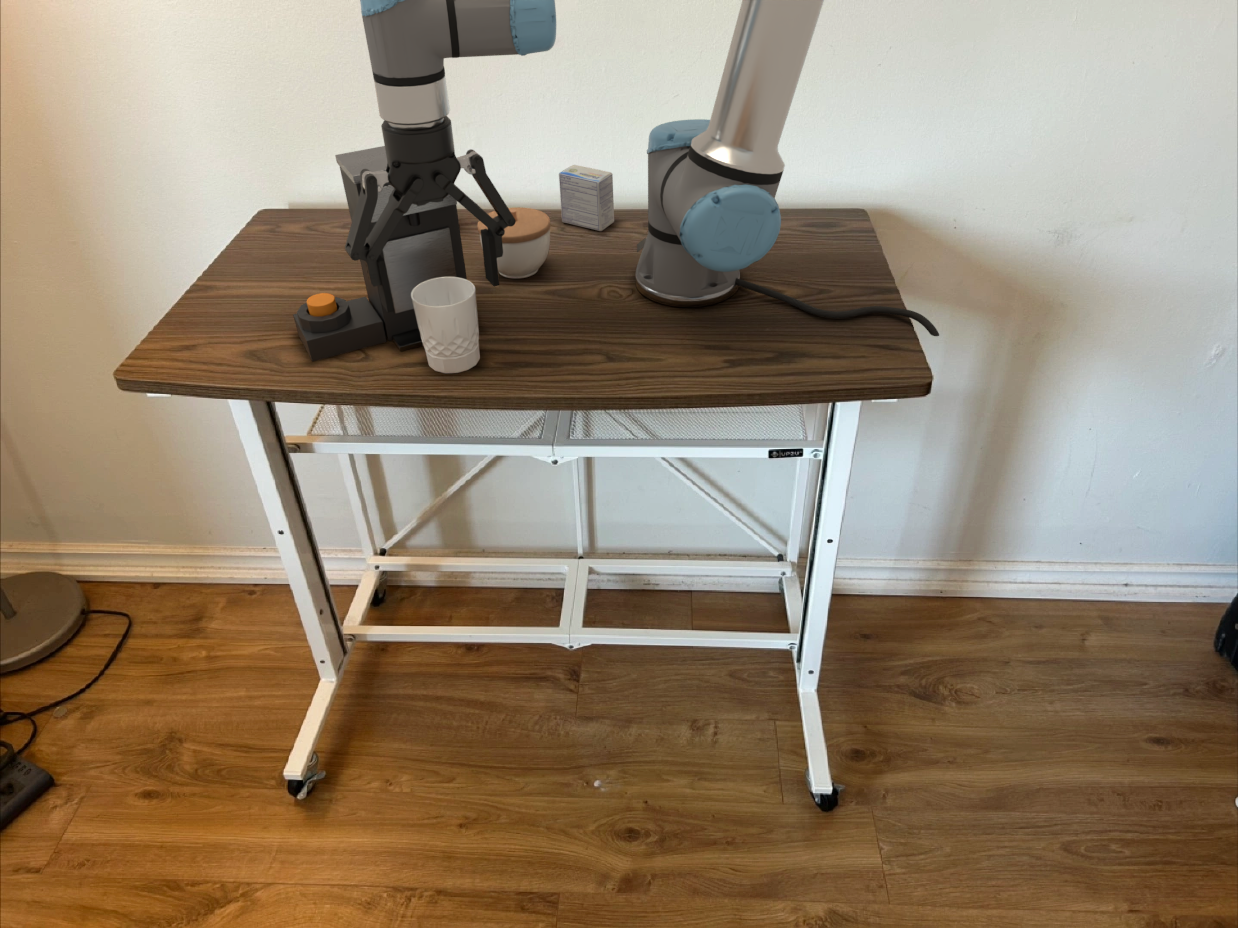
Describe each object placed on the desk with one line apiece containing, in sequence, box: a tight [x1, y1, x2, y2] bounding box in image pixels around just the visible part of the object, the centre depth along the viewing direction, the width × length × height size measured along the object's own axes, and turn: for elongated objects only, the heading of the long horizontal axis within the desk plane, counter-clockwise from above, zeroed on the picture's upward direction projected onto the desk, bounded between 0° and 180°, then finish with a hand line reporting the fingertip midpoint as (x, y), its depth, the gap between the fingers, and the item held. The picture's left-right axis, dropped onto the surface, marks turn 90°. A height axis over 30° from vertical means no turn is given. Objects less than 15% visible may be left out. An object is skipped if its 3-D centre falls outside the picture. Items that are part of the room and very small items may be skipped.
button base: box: [292, 296, 388, 362], centre depth 119 cm, size 10×8×5 cm
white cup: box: [411, 277, 481, 374], centre depth 113 cm, size 8×8×10 cm
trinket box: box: [477, 206, 551, 279], centre depth 133 cm, size 11×11×9 cm
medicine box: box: [558, 164, 615, 232], centre depth 146 cm, size 8×4×9 cm, turn 58°
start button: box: [306, 292, 337, 316], centre depth 117 cm, size 4×4×2 cm
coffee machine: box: [334, 145, 468, 353], centre depth 117 cm, size 12×12×23 cm
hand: (441, 294), depth 110 cm, fingers open, 13 cm apart
